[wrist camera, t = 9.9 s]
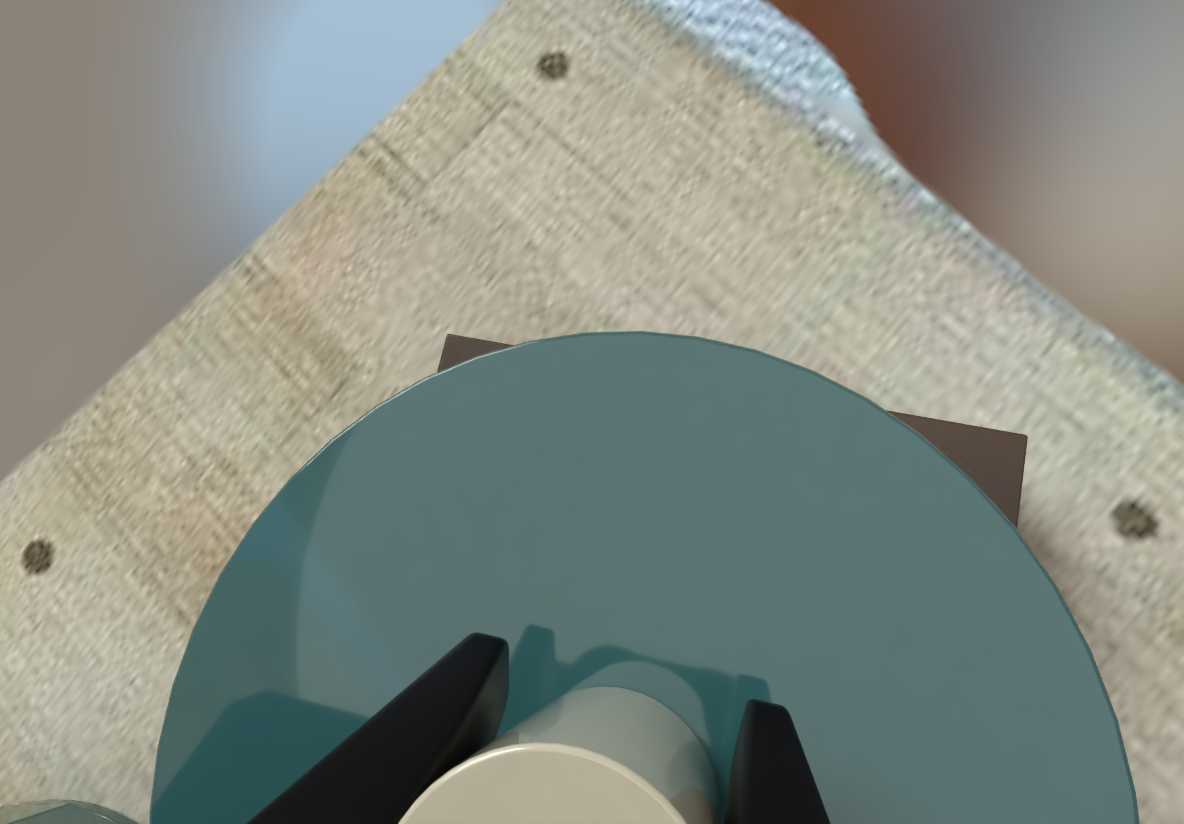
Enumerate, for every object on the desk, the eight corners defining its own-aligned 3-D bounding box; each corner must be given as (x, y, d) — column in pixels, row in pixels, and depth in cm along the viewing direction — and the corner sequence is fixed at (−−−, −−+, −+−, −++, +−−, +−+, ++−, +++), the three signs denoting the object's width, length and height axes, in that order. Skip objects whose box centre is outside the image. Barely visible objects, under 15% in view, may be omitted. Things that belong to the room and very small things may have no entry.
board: (903, 1097, 18) (939, 1191, 16) (338, 918, 21) (280, 971, 18) (984, 456, 21) (1028, 434, 18) (478, 364, 24) (446, 332, 21)
